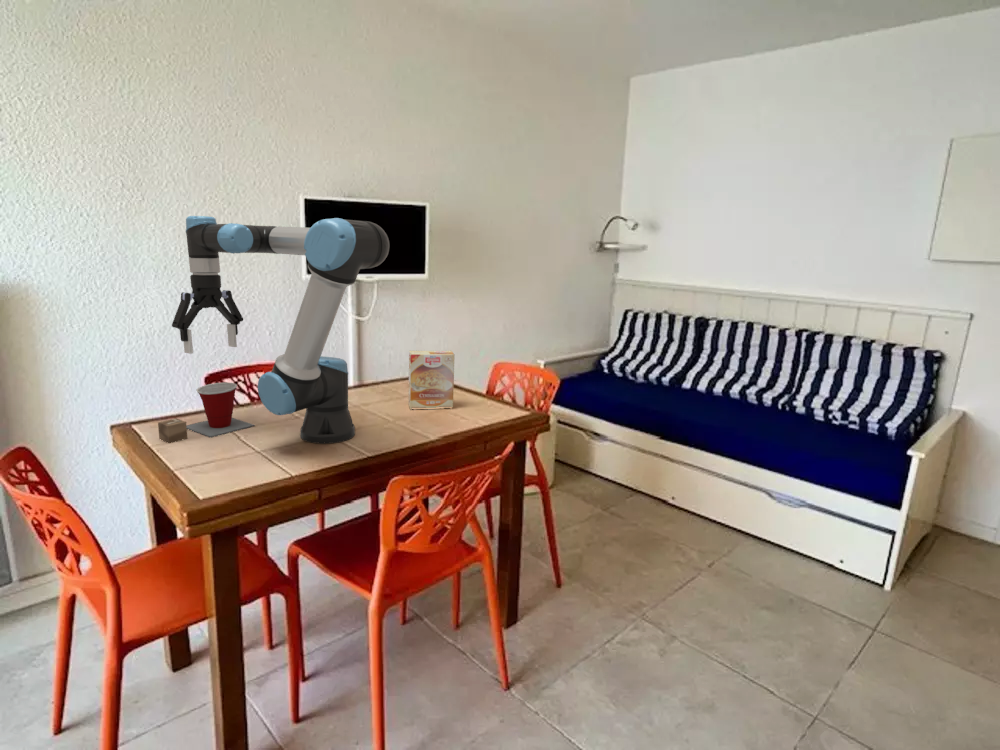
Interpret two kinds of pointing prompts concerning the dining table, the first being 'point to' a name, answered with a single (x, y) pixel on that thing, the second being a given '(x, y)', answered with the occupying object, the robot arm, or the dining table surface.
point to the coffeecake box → (431, 379)
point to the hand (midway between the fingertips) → (211, 349)
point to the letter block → (172, 430)
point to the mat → (211, 432)
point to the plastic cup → (218, 403)
